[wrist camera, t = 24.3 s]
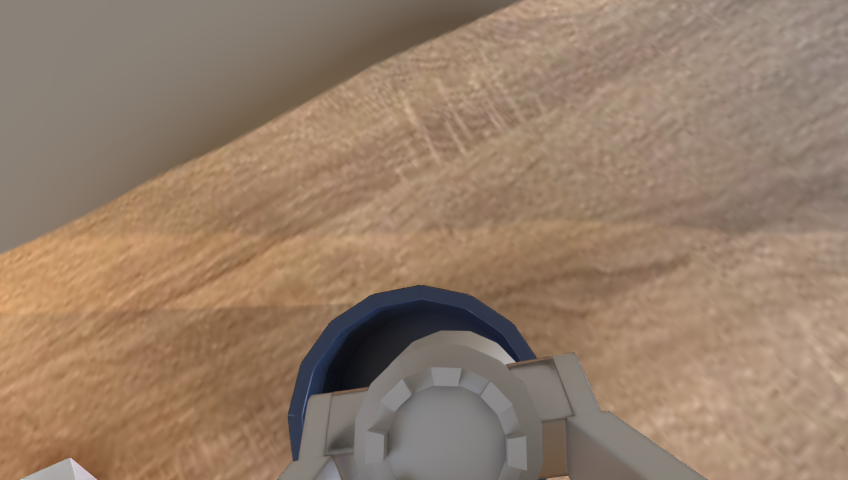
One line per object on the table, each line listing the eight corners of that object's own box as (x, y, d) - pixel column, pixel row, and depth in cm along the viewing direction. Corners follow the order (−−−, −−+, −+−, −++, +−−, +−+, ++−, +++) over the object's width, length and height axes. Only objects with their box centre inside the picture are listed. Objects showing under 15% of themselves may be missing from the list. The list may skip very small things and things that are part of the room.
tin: (457, 265, 28) (455, 239, 22) (573, 437, 26) (609, 462, 20) (293, 373, 28) (243, 378, 21) (398, 558, 25) (376, 624, 19)
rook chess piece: (353, 381, 16) (253, 402, 9) (475, 302, 17) (485, 252, 9) (432, 517, 15) (398, 679, 8) (560, 430, 16) (655, 502, 8)
